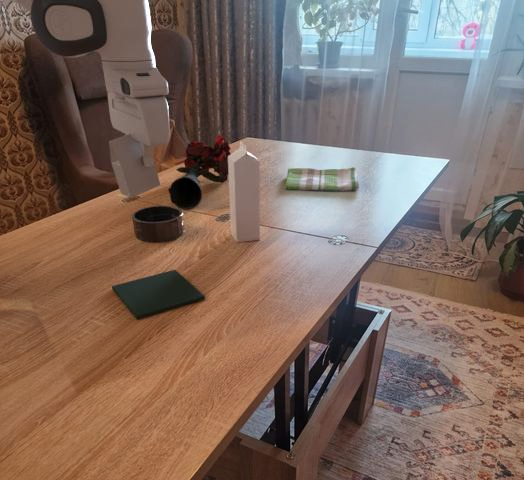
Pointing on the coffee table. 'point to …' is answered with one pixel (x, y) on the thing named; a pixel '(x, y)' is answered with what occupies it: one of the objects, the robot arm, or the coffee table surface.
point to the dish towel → (322, 179)
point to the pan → (158, 224)
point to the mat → (157, 294)
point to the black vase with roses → (199, 172)
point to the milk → (244, 195)
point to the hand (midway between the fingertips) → (142, 162)
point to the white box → (131, 167)
